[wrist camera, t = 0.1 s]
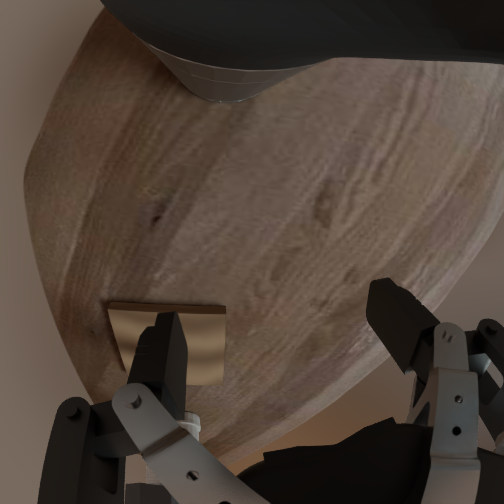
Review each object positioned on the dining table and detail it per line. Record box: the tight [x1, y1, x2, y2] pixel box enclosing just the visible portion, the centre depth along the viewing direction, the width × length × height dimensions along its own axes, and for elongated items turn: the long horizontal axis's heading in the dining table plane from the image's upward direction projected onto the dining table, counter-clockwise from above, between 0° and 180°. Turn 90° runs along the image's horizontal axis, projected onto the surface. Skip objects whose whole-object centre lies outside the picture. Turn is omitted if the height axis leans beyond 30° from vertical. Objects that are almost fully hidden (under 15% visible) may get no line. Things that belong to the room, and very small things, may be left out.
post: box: [108, 301, 226, 485], centre depth 20 cm, size 14×14×32 cm
